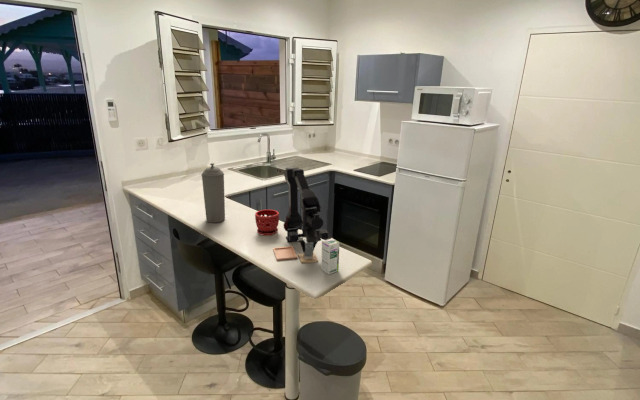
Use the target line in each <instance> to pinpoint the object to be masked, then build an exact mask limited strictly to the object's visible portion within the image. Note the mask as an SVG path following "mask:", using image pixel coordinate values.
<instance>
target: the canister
mask: <svg viewBox="0 0 640 400" xmlns="http://www.w3.org/2000/svg"><path fill="white" fill-rule="evenodd" d="M209 165H210V166H209V167H205V169H204V170H203V172H202V173H201V179H202V180H201V181H202V182H201V183H202V192H203V200H204V201H203V202H204V210H205V211H204V212H205V219H206V221H207V222H208V223H214V224H216V223H220V222H223V221H225V220H226V208H225V207H226V206H225V204H226V203H225V202H226V201H225V173H224V171H222V169H221V168H219V167H217V166H215V162H211V163H209Z"/></svg>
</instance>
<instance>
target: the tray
mask: <svg viewBox="0 0 640 400" xmlns="http://www.w3.org/2000/svg"><path fill="white" fill-rule="evenodd" d="M272 250H273V254H274V257H275V259H276V261H287V260H297V259H298V254H297V252H296V251H295V248H294V246H293V245H289V246H281V247H280V246H279V247H278V246H277V247H273V248H272Z"/></svg>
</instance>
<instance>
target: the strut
mask: <svg viewBox="0 0 640 400" xmlns="http://www.w3.org/2000/svg"><path fill="white" fill-rule="evenodd" d="M303 240H304V252H303V251H302V254H304V256H313V253H314V251H313V242H310V243H308V242H307V240H306V238H303Z"/></svg>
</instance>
